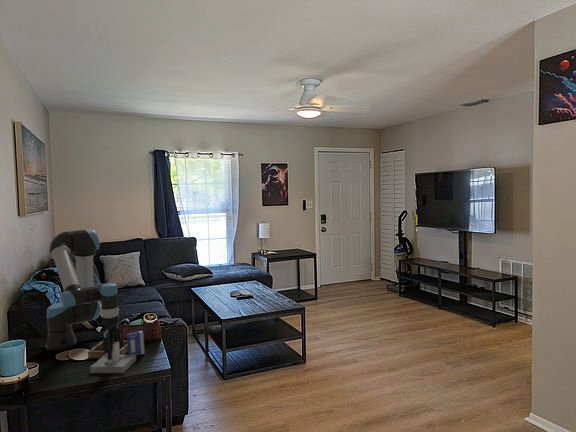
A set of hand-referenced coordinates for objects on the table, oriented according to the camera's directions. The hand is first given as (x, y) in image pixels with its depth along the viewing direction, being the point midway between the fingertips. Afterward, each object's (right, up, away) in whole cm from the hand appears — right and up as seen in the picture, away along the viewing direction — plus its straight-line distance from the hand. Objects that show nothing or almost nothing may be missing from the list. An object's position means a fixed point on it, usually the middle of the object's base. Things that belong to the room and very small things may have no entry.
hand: (113, 362), depth 206 cm
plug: (0, 0, 0) cm, 0 cm away
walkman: (+6, -1, +14) cm, 15 cm away
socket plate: (0, -2, 0) cm, 2 cm away
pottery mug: (-7, -1, +19) cm, 20 cm away
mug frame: (-9, -1, +18) cm, 20 cm away
